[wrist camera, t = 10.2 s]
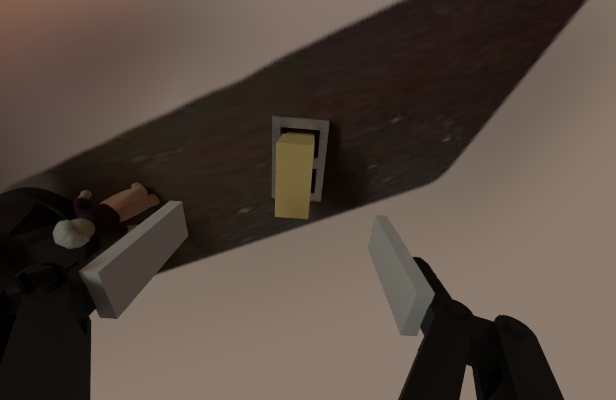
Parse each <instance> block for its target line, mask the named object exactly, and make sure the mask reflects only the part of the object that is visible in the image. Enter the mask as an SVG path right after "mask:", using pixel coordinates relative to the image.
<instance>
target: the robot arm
mask: <svg viewBox="0 0 616 400" xmlns="http://www.w3.org/2000/svg"><path fill="white" fill-rule="evenodd" d="M74 219H78V217H77V215H76V213H75V211H74V205H73V204H72V203H70V202H69V201H67V200H66V199H64V198H62V197H60V196H58V195H56V194H54V193H51V192H49V191H46V190H42V189H38V188H30V187H23V188H17V189H14V190H10V191H7V192H4V193H1V194H0V400H90V373H91V372H90V371H91V320H90V318H89V315H90V314H91V313H92V312H93V311H94V310H95V309H96V310H97V312H98V314H99V316H100V318H114V319H117V318H118V317H119V316H120V315H121V314H122V313H123V311H124V310H125V309H126V308H127V306H129V304H130V303H131V302H132V301H133V300H134V298H135V297H136V296H137V295H138V294H139V293H140V291H141V290H142V289H143V288H144V287H145V286H146V284H147V283H148V282H149V281H150V280H151V279H152V277H153V276H154V275H155V274H156V273H157V272H158V270H159V269H160V268H161V267H162V266H163V265H164V263H165V262H166V261H167V260H168V259H169V258H170V256H171V255H172V254H173V253H174V252H175V251H176V249H177V248H178V247H179V246H180V245H181V244H182V242H183V241H184V240H185V239H186V238H187V237H188V232H187V227H186V221H185V216H184V210H183V205H182V202H181V201H169V202H168V203H167V204H165V205H164V206H163V207H162V208H160V209H159V210H158V211H156V212H155V213H154V214H152V215H151V216H150V217H149V218H147V219H146V220H145V221H143V222H142V223H141V224H139V225H138V226H137V227H136V228H134V229H133V230H132V231H130V232H129V233H128V234H126V235H125V236H124V237H123V238H118V239H116V240H114V241H112V242H110V243H108V244H106V245H105V246H103V247H102V248H101V249H99V251H97V249H98V237H97V234H96V233H95V232H94V234H93V235H92V236H91V237H90V240H89V241H88V242H87V243H86V244H85V245H83V246H81V247H78V248H72V249H68V248H65V247H63V246H60V245H58V244H56V243H55V240H54V238H53V231H54V229H55V226H56V225H57V223H59V222H60V221H65V220H70V221H71V220H74ZM368 249H369V252H370V254H371V257H372V260H373V262H374V265H375V268H376V271H377V273H378V276H379V278H380V281H381V284H382V287H383V289H384V292H385V295H386V297H387V300H388V303H389V305H390V308H391V311H392V313H393V316H394V319H395V321H396V324H397V327H398V329H399V332H400V334H401V335H407V336H417V334H418V332H419V329H420V328H421V330H422V332H423V334H424V338H423V340H422V342H421V345H420V347H419V349H418V352H417V355H416V357H415V360H414V362H413V365H412V367H411V370H410V372H409V375H408V377H407V379H406V382H405V384H404V387H403V389H402V391H401V394H400V396H399V399H398V400H459V399H460V393H461V388H462V383H463V378H464V373H465V368H466V365H469V366H472V369H473V376H474V382H475V390H476V396H477V400H564V398H563V396H562V393H561V391H560V389H559V387H558V384H557V382H556V380H555V378H554V375H553V373H552V371H551V369H550V366H549V364H548V362H547V360H546V357H545V355H544V353H543V351H542V348H541V346H540V344H539V342H538V339H537V337H536V336H535V334H534V333H533V332H532V330H530V329H529V328H528V327H527V326H526V325H525V324H523V323H522V322H520V321H519V320H517V319H515V318H512V317H510V316H506V315H499V316H497V317H496V318H495V320H494V322H493V321H490V320H486V319H483V318H480V317H477V316H474V315H473V314H472V312H471V311H470V310H469V309H468V308H467V307H466V306H465V305H463V304H462V303H460V302H458V301H456V300H452V298H451V296H450V295H449V294H448V292H447V291H446V289H445V288H444V287H443V285H442V284H441V282H440V281H439V279H438V278H437V276H436V275H435V273H434V272H433V270H432V269H431V267H430V266H429V265H428V263H426V262H425V261H424V260H423V259H421V258H420V257H412V256H411V254H410V253H409V251H408V249H407V248H406V246H405V245H404V243H403V241H402V240H401V238H400V237H399V235H398V233H397V232H396V230H395V229H394V227H393V226H392V224H391V222H390V221H389V219H388V217H387V216H379V215H376V216H375V220H374V225H373V229H372V233H371V237H370V242H369V246H368Z"/></svg>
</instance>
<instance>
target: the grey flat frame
mask: <svg viewBox="0 0 616 400" xmlns="http://www.w3.org/2000/svg"><path fill="white" fill-rule="evenodd" d="M329 122H330V120H329V119H323V118H311V117H299V116H287V115H274V116H272V198H275V189H276V142H277V141H278V139H279V138H280V137H281V135H282V132H283V127H287V128H299V129H311V130H320V135H319V145H318V154H314V156H313V169H316V177H315V187H311V191H310V201H320V202H321V195H322V186H323V177H324V168H325V159H326V149H327V140H328V131H329Z"/></svg>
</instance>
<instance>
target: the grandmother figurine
mask: <svg viewBox="0 0 616 400" xmlns="http://www.w3.org/2000/svg"><path fill="white" fill-rule="evenodd" d="M147 194H148V192H147V190H146V189H145V187H144V186H143V185H141V184H140V183H133V184H132V186H131V189H128V190H125V191H122V192H120V193H118V194H116V195H114V196H112V197H110V198H108V199H106V200H104V201H102V202H101V203H99V204H98V206H95V207H93V208H92V206H91V204H90V201H89V198H90V197H91V195H92V194H91V192H90V191H88V190H84V191H82V192H81V193H80V195H79V196H78V198H76V199H74V200H73V205H74V211H75V213H76V215H77V217H78V219H74V220H71V221H70V220H65V221H60V222H59V223H57V225H56V226H55V229H54V231H53V238H54V240H55V243H56V244H58V245H60V246H63V247H65V248H68V249H72V248H78V247H81V246H83V245H85V244H86V243H87V242H88V241H89V240H90V237H91V236H92V235H93V234H94V232H95V233H97V234H100V235H125V234H127V233H129V232H130V231H132V230H133V229H134V228H136V227H137V226H138V225H132V226H124V225H122V224H120V222H123V221H125V220H127V219H129V218H132V217H134V216H136V215H138V214H139V213H141V212H143V211H144V210H146V209H148V208H149V207H152V206H156V205H158V204H159V203H160V200H159V198H158V197H157V196H156V195H154V194H149V195H147Z"/></svg>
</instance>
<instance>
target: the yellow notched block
mask: <svg viewBox="0 0 616 400" xmlns="http://www.w3.org/2000/svg"><path fill="white" fill-rule="evenodd" d="M313 156H314V134H312V133H300V132H287V133H286V134H282V135H281V137H280V138H279V139H278V141H277V142H276V189H275V217H287V218H300V219H308V214H309V203H310V191H311V179H312V168H313Z"/></svg>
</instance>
